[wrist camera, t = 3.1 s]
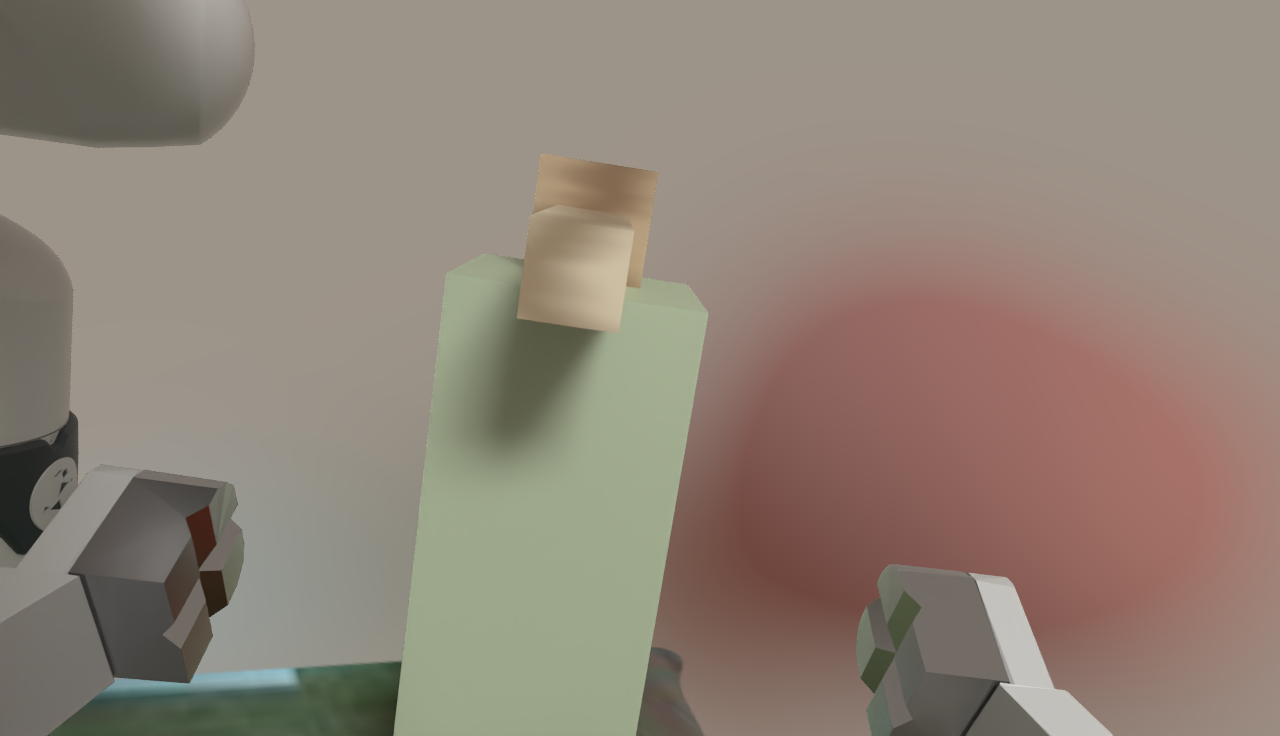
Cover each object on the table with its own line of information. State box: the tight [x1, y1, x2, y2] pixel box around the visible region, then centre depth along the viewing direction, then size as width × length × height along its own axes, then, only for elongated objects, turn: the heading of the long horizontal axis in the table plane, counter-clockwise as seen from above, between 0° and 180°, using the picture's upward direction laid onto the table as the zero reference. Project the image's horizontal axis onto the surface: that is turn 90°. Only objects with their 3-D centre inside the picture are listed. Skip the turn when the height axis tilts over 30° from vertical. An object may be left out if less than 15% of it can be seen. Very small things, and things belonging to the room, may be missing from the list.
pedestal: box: [393, 253, 708, 736], centre depth 42 cm, size 10×10×26 cm
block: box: [517, 153, 658, 334], centre depth 35 cm, size 5×18×5 cm, turn 1°
